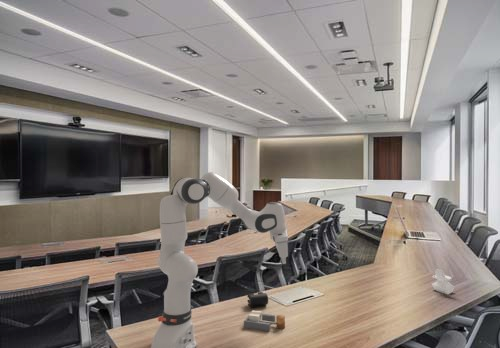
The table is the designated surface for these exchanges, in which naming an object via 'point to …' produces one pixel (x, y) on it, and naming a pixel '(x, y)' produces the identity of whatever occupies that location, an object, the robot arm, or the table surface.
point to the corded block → (258, 317)
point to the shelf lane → (260, 324)
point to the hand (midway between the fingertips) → (282, 260)
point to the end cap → (257, 299)
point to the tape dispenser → (442, 282)
